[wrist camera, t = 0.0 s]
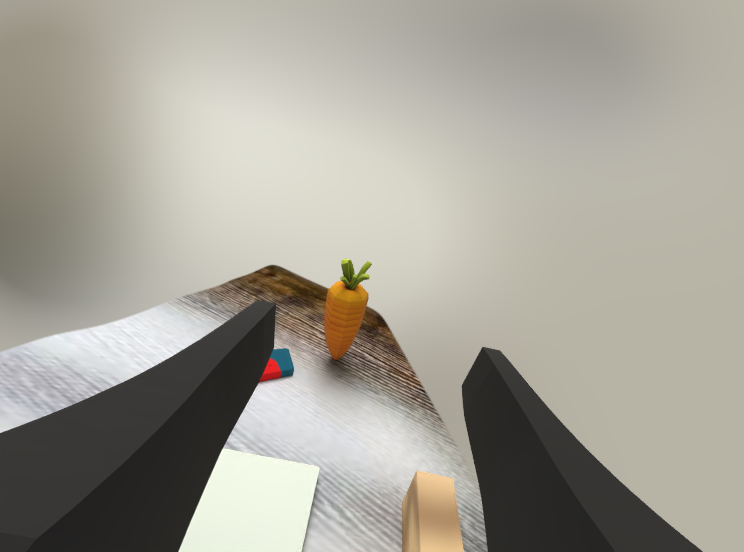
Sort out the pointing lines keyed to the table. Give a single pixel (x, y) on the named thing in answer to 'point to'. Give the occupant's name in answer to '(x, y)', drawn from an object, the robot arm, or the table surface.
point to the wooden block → (431, 515)
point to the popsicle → (278, 365)
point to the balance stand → (252, 505)
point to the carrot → (345, 309)
